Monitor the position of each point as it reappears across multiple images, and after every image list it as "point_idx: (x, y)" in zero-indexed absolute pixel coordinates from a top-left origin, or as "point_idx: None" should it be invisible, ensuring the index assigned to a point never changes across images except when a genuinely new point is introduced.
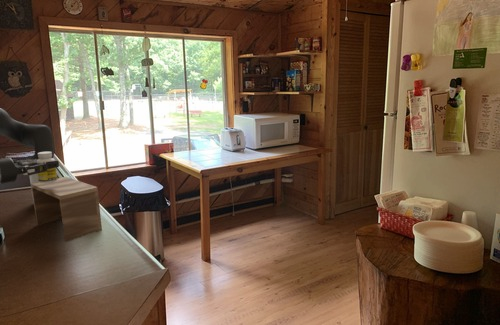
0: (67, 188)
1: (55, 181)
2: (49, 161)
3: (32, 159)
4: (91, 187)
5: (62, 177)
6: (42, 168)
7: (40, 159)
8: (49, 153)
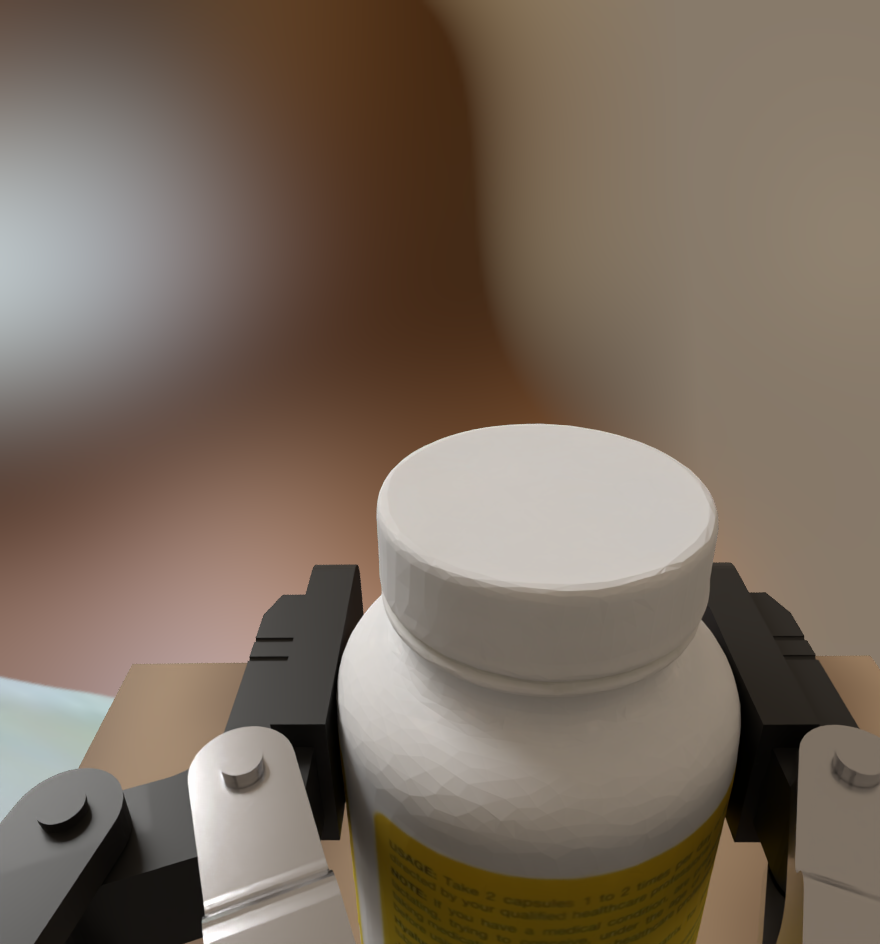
0: (718, 859)
1: None
2: (720, 652)
3: (121, 795)
4: (846, 688)
5: (122, 694)
6: (770, 907)
7: (607, 719)
8: (683, 473)
